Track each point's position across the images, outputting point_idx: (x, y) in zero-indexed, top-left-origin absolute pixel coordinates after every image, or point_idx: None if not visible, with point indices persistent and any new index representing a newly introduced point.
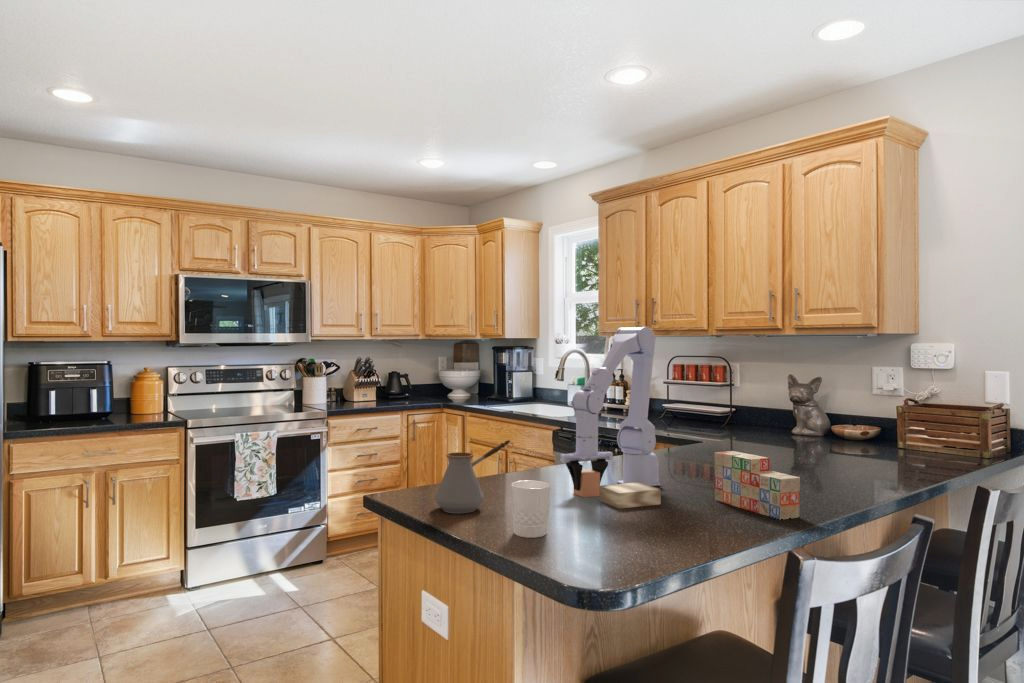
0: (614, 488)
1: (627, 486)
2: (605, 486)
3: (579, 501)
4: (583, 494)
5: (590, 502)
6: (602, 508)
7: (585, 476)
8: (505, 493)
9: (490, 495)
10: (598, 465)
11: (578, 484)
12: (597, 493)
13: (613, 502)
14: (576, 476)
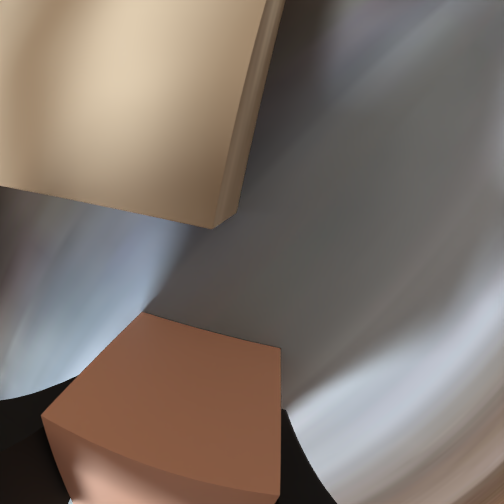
0: (173, 24)
1: (25, 68)
2: (179, 148)
3: (391, 269)
4: (274, 357)
5: (349, 196)
6: (386, 30)
7: (243, 462)
8: (460, 497)
9: (501, 481)
10: (10, 484)
11: (291, 437)
12: (153, 325)
13: (279, 9)
14: (326, 492)
